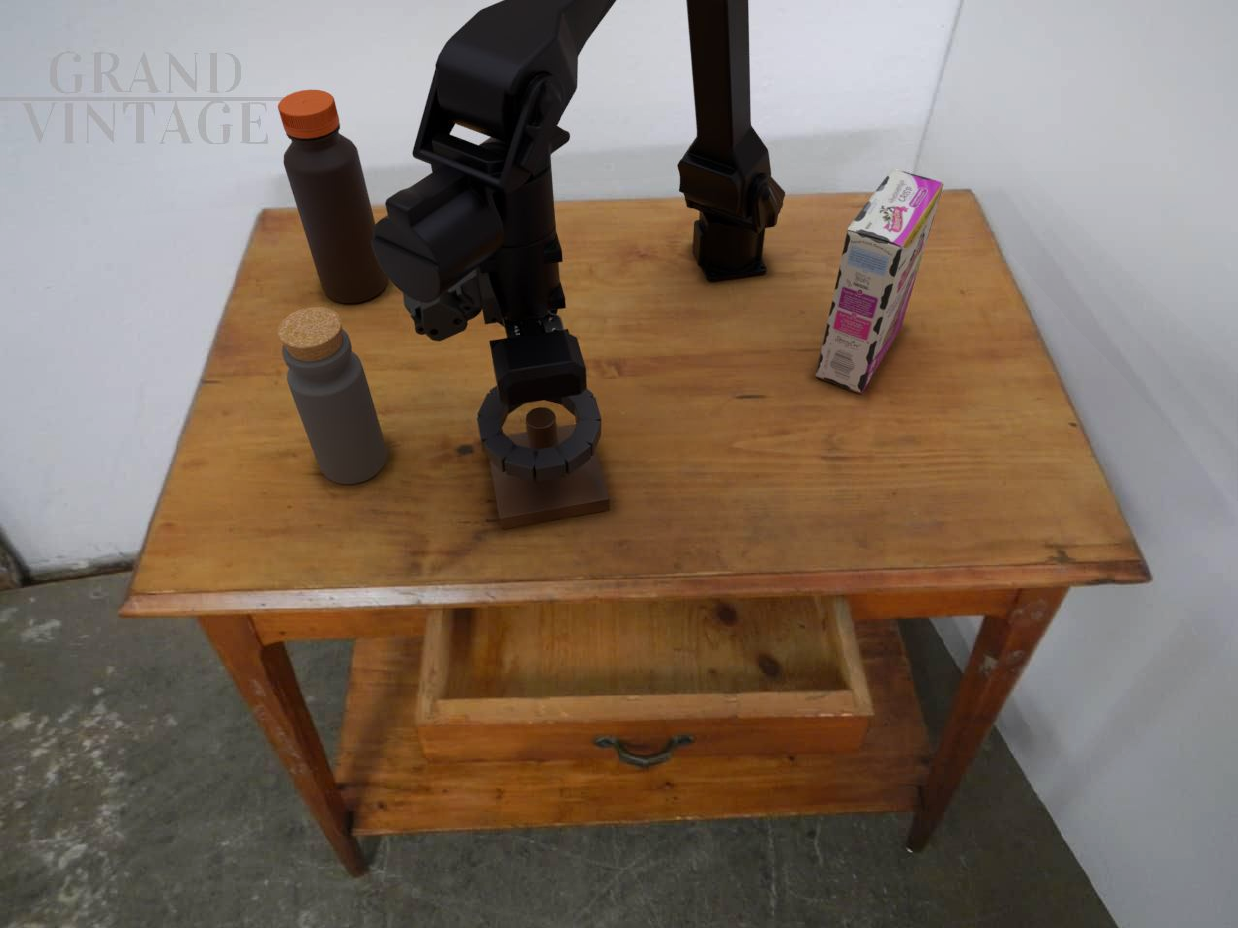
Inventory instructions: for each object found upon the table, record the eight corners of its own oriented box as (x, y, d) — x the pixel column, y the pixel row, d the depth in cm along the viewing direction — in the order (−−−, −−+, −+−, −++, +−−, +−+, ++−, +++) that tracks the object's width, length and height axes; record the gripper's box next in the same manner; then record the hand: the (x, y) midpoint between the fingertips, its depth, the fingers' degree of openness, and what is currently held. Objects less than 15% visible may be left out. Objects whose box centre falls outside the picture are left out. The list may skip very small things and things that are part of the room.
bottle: (373, 490, 79) (330, 356, 68) (308, 480, 80) (255, 346, 69) (397, 440, 83) (361, 306, 72) (335, 431, 84) (289, 297, 72)
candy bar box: (864, 397, 86) (903, 247, 73) (813, 378, 87) (843, 229, 75) (905, 328, 92) (947, 179, 80) (856, 312, 94) (890, 164, 82)
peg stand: (588, 433, 83) (585, 370, 78) (609, 510, 77) (608, 448, 72) (487, 450, 82) (477, 388, 76) (501, 529, 76) (491, 468, 70)
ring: (586, 376, 79) (585, 362, 77) (611, 468, 73) (612, 455, 72) (472, 395, 77) (469, 381, 76) (490, 490, 72) (488, 477, 71)
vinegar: (392, 263, 100) (349, 82, 85) (385, 303, 96) (339, 119, 81) (328, 266, 100) (274, 85, 85) (318, 307, 95) (259, 123, 80)
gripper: (389, 168, 70) (424, 329, 82) (407, 325, 58) (445, 488, 70) (536, 149, 72) (550, 310, 83) (583, 299, 59) (592, 463, 71)
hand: (532, 386), depth 77 cm, fingers closed on ring, 2 cm apart
